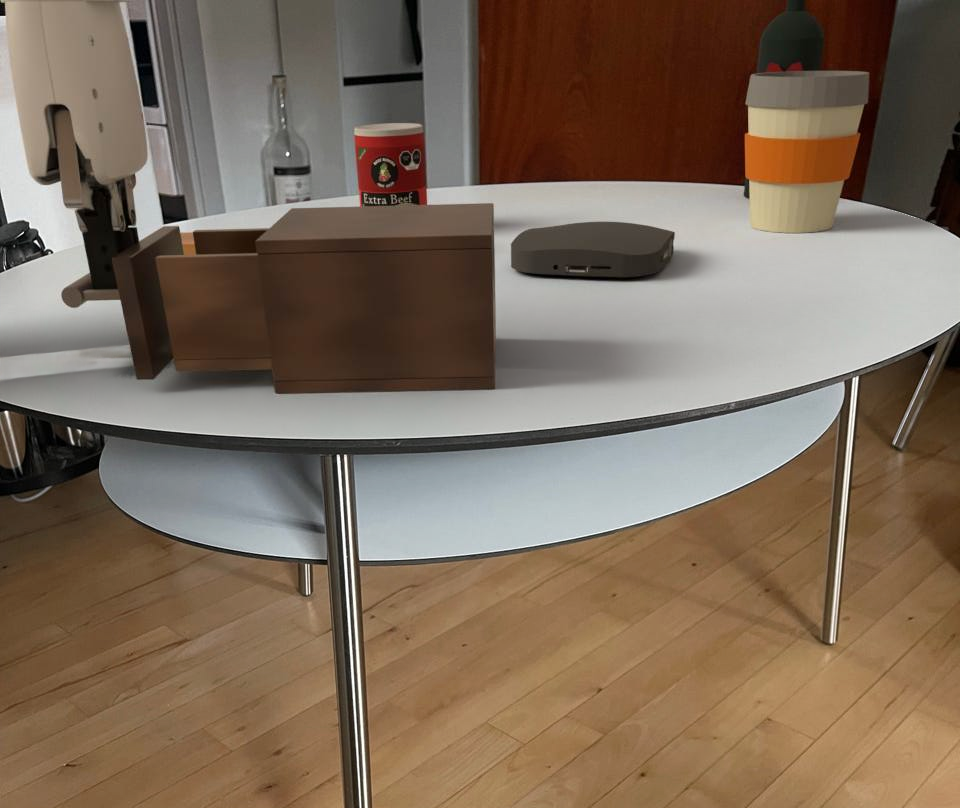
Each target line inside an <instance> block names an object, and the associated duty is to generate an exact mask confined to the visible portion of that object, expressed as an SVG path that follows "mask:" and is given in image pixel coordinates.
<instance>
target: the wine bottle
mask: <svg viewBox="0 0 960 808" xmlns="http://www.w3.org/2000/svg"><path fill="white" fill-rule="evenodd" d="M806 5H807V0H786V7H785V11H784V12H782V13H780V14H778V15H777V16H776V17H775V18H773V20H771V21H770V22H769V23H768V25H767V26H766V28H765V29H764V31H763V32H762V34H761V37H760V38H759V46H758V47H759V49H758V58H757V67H756V74H757V73H769V72H789V71H822V63H823V55H824V46H825V39H826V38H825V34H824V33H825V32H824V29H823V26H821V23H820V22H819V20H818V19H817V18H815V16H813V14H811V13H810V12H808V11H806ZM743 197H745V199H750V193H749V179H747V178H746V177H745V179H744V189H743Z"/></svg>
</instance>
